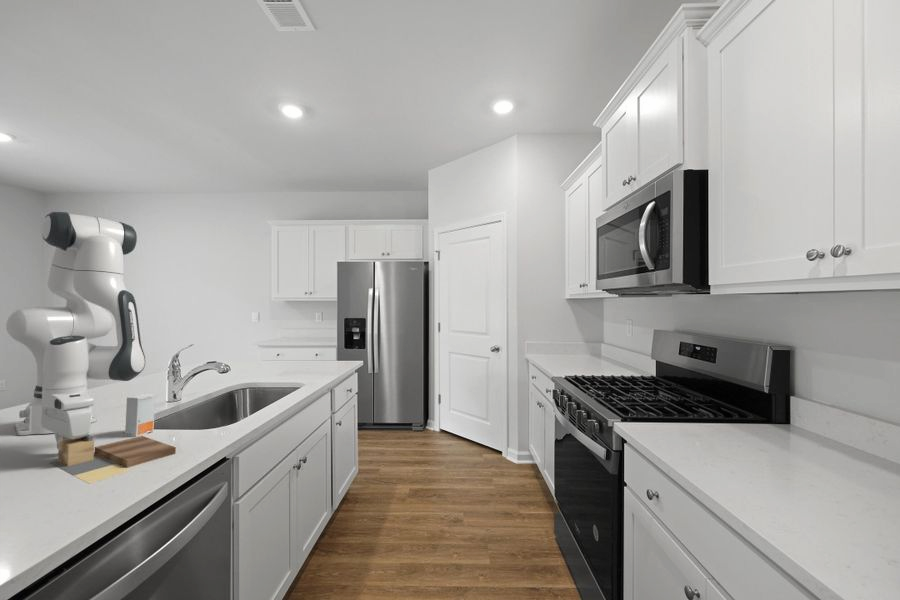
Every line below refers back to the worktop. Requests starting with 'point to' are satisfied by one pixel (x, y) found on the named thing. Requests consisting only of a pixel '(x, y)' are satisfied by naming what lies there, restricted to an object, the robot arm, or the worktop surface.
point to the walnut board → (134, 451)
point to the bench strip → (92, 469)
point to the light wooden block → (76, 450)
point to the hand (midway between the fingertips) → (63, 449)
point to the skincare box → (140, 414)
